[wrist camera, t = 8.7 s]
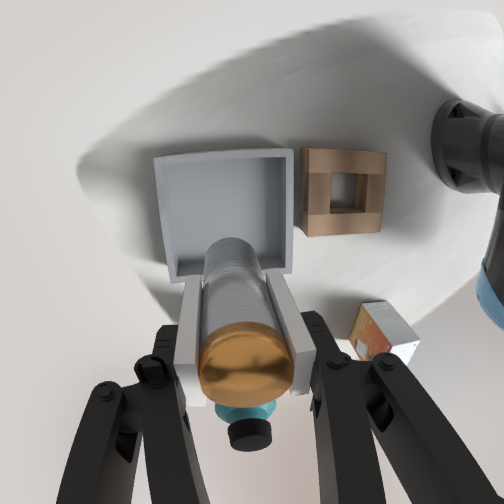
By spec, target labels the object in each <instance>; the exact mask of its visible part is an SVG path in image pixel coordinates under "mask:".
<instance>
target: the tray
mask: <svg viewBox="0 0 504 504" xmlns="http://www.w3.org/2000/svg"><path fill="white" fill-rule="evenodd" d="M153 160H154V171H155V181H156V190H157V198H158V206H159V214H160V221H161V228H162V235H163V241H164V248H165V254H166V260H167V265H168V271H169V276H170V282H171V283H182V282H186V277H187V276H188V275H201V281H203V275H204V261H205V255H206V252H207V250H208V249H209V247H210V246H211V245H212V244H213V243H215V242H216V241H218V240H220V239H223V238H227V237H235V238H240V239H242V240H244V241H246V242H247V243H249V244H250V245H251V246H252V248H253V249H254V251H255V253H256V256H257V259H258V262H259V265H260V268H261V271H262V274H263V276H266V269H272V268H279V269H280V271H281V273H282V274H291V273H292V256H293V209H294V150H293V149H289V148H249V149H229V150H214V151H201V152H190V153H181V154H172V155H164V156H159V157H156V158H153Z"/></svg>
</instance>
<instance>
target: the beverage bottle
mask: <svg viewBox="0 0 504 504" xmlns="http://www.w3.org/2000/svg"><path fill="white" fill-rule="evenodd" d="M275 408H276V400H273V401H271V402H269V403H266V404H263V405H259V406H255V407H247V408H236V407H228V406H224V405H221V404H218V403H216V402H215V411H216V414H217V415H218V417H219V418H221V419H222V420H224V421H225V422H227V423H229V424H230V425H229V427H228V435H229V439H230V444H231V447H232V448H233V449H235V450H238V451H244V452H251V451H258V450H261V449H264V448H266V447H267V446H269V445H270V444H271V442H272V435H271V425H270V423H269V422H268V421H266V419H267V418H268V417H269V416H270V415H271V414H272V413H273V412H274V410H275Z"/></svg>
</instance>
